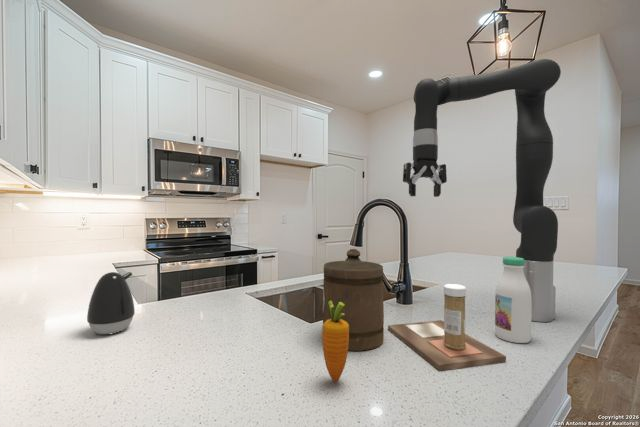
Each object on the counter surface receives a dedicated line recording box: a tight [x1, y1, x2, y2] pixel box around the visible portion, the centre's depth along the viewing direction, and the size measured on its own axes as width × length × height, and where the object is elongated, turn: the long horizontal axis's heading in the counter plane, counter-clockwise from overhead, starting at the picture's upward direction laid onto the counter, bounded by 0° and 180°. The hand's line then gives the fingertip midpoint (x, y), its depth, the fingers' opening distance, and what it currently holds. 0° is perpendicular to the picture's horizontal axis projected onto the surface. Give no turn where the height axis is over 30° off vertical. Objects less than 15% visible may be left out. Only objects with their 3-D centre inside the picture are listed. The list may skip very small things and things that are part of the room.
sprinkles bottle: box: [443, 283, 467, 350], centre depth 70 cm, size 5×5×14 cm
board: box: [387, 320, 507, 372], centre depth 74 cm, size 16×22×2 cm
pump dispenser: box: [86, 271, 136, 335], centre depth 81 cm, size 10×10×15 cm
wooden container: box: [322, 248, 385, 352], centre depth 77 cm, size 15×15×22 cm
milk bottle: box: [494, 256, 532, 344], centre depth 78 cm, size 8×8×20 cm
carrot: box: [321, 301, 349, 383], centre depth 57 cm, size 5×5×15 cm
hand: (424, 196), depth 100 cm, fingers open, 8 cm apart
